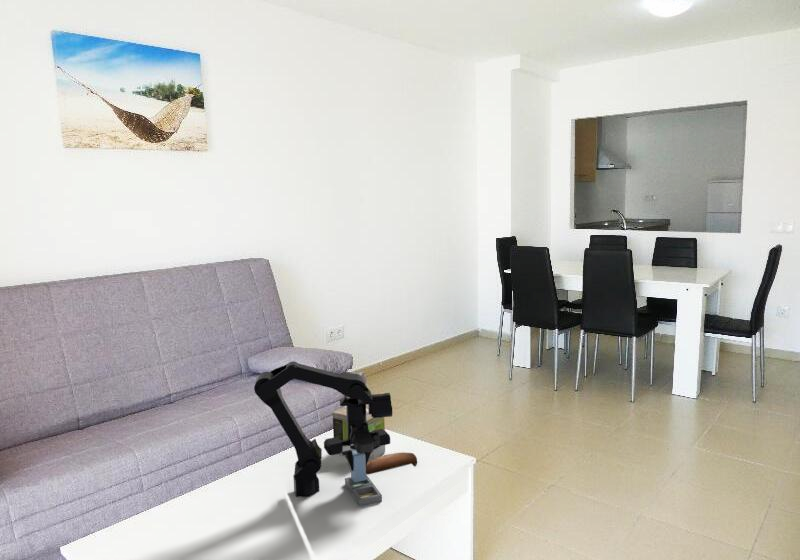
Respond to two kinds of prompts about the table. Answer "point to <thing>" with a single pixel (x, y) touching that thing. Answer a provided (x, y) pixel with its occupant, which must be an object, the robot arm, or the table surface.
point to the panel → (363, 491)
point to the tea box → (341, 429)
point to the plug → (358, 467)
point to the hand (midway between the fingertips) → (358, 469)
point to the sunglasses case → (390, 462)
